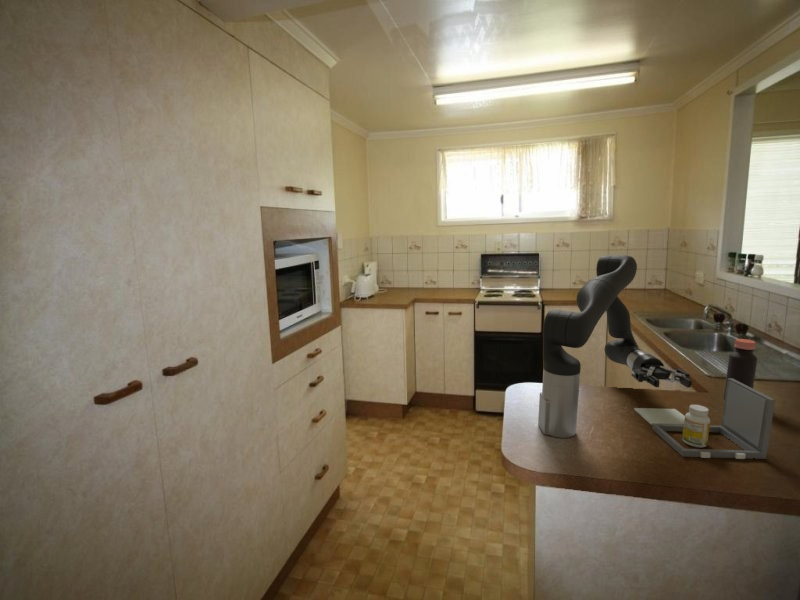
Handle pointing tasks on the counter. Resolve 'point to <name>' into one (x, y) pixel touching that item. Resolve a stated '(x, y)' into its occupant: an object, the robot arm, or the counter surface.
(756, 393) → the access hatch
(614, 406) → the counter surface
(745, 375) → the vinegar
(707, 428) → the supplement bottle
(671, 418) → the mat
